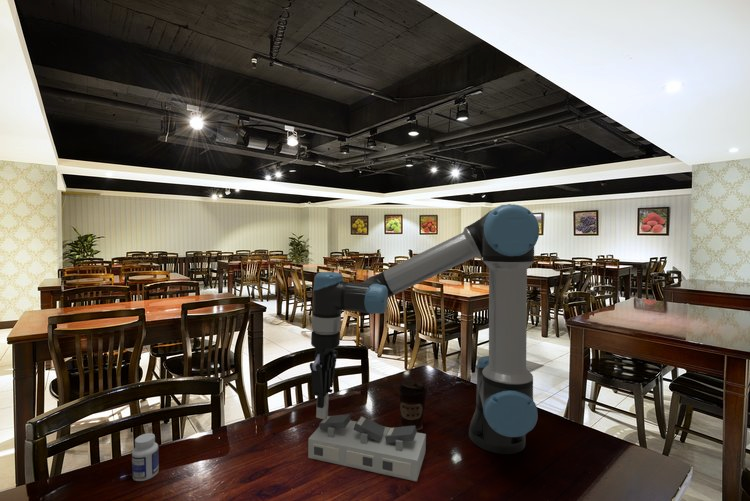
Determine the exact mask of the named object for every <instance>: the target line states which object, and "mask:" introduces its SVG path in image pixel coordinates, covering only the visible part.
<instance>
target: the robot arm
mask: <svg viewBox="0 0 750 501" xmlns="http://www.w3.org/2000/svg"><path fill="white" fill-rule="evenodd" d="M539 236H540V224H539V220H538V219H537V217H536V216H535V214H534V213H533V212H532V211H530V209H529V208H527V207H525V206H523V205H519V204H511V203H508V204H501V205H498V206H497V207H495V208H493V209H491V210H489V211H488V212H487V213H486V214H484V215H483V216H481V217H480V219H478V220H476V221H475V222H473V223H471V224H469V225H468V226H465V227H464V228H463V231H462V232H461V233H459V234H457V235H455V236H452V237H451V238H449V239H447V240H444V241H443V242H441V243H438V244H436V245H435V246H432V247H430V248H428V249H427V250H424V251H422V252H420V253H418V254H416V255H414V256H412V257H410V258H407V259H405V260H404V261H402V262H400V263H397V264H396V265H394V266H391V267H389V268H387V269H385V270H383V271H381V272H379V273H377V274H375V275H372V276H369V277H368V278H366V279H365V280H364V281H362V282H353V281H352V282H351V281H346V280H345V281H344V276H343V274H342V273H341V272H334V271H332V272H331V271H324V272H323V271H321V272H318V273H316V274H315V276H314V278H313V279H314V281H313V289H312V316H311V318H310V319H311V330H312V331H311V336H310V337H311V338H310V339H311V340H310V342H311V343H310V344H311V346H312V347H313V348H314V349H315V353H314V359H315V360H314V362H310V364H309V369H310V372H311V388H312V395H313V396H316V413H315V414H316V415H315V417H316V418H318V419H321V420H323V419H326V418H327V417H328V416H329V397H330V396H329V395H330V394H332V393H333V391H334V390H333V389H331V388H333V385H334V380H335V379H334V378H335V371H336V365H337V359H338V355H339V351H338V350H335V349H336V348H338V347H339V346H340V345H341V344H340V342H341V341H340V340H341V339H340V338H341V332H340V330H341V324H342V323H341V321H342V311H346V312H353V313H355V312H356V313H366V314H370V315H373V314H378V315H379V314H384V313H385V312H386V311H387V306H388V300H389V299H388V298H391V297H393V296H394V295H396V294H400V293H401V292H403V291H405V290H407V289H409V288H412V287H414V286H416V285H418V284H420V283H422V282H424V281H426V280H428V279H430V278H433V277H435V276H437V275H440V274H441V273H444V272H446V271H448V270H450V269H452V268H455V267H457V266H459V265H461V264H464V263H465V262H467V261H470V260H472V259H474V258H478V259H482V262H483V263H484V265H485V266H487V268H488V355H483V356H481V357H479V358H478V360H477V366H476V369H477V370H476V371H477V372H476V375H477V376H476V399H475V400H476V401H475V404H476V405H475V411H474V413H473V416H472V418H471V420H470V424H469V426H468V427H469V428H468V437H469V440H471V442H472V443H473V444H474V445H475V446H477V447H479V448H480V449H483V450H485V451H487V452H490V453H493V454H494V453H495V454H498V455H513V454H518V453H520V452H522V451H523V450H524V449H525V447H526V435H527V434H528V433H529V432H532V430H534V428H535V426H536V424H537V421H538V414H539V413H538V407H537V405H536V402H535V401H534V375H533V373H531V372H530V370H528V368H527V328H528V327H527V326H528V324H527V320H528V319H527V311H528V310H527V309H528V308H527V307H528V304H527V303H528V300H527V299H528V298H527V297H528V269H529V268H530V267H531V266H532V265H533V264H534V263H535V246H536V244H537V242H538V240H539V238H540V237H539Z"/></svg>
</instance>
